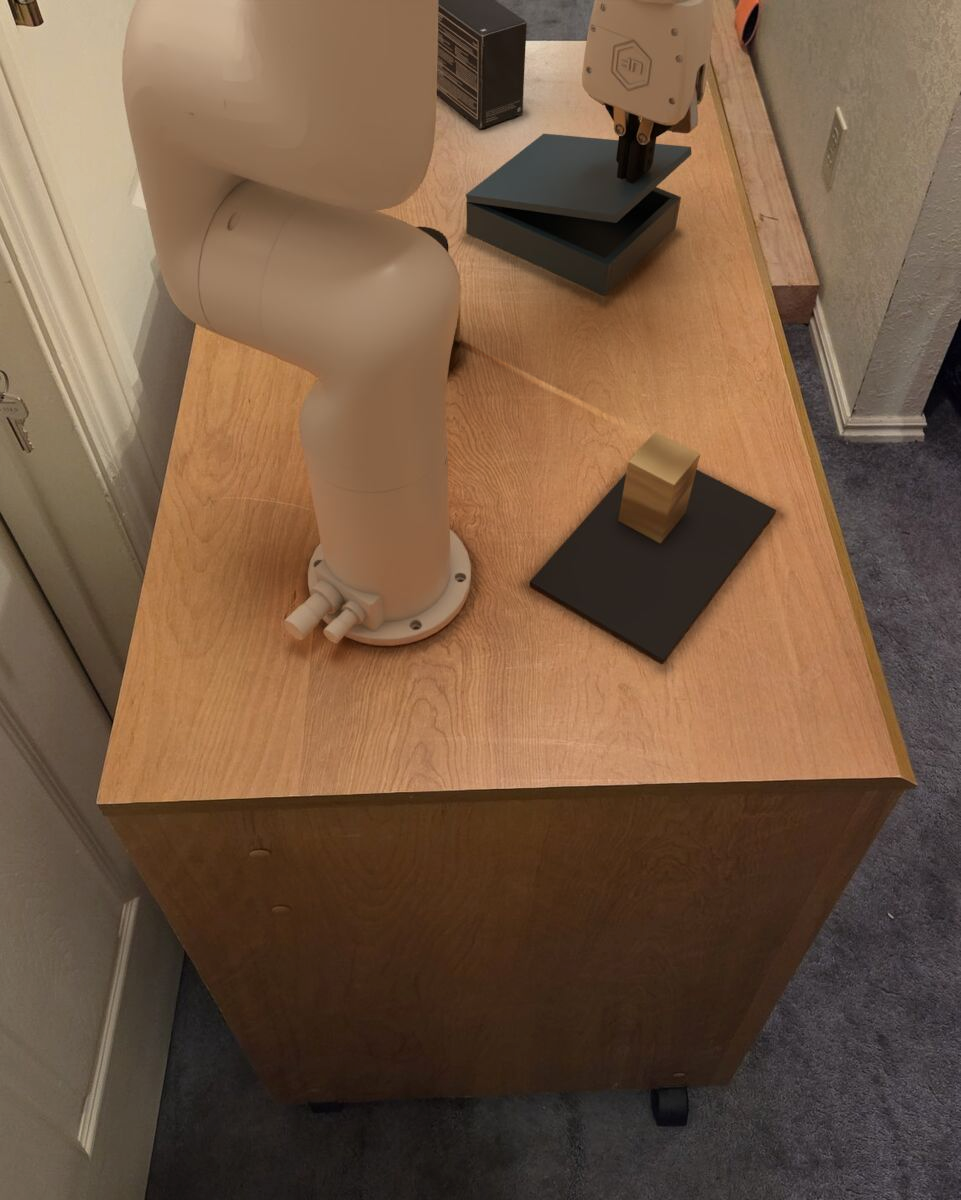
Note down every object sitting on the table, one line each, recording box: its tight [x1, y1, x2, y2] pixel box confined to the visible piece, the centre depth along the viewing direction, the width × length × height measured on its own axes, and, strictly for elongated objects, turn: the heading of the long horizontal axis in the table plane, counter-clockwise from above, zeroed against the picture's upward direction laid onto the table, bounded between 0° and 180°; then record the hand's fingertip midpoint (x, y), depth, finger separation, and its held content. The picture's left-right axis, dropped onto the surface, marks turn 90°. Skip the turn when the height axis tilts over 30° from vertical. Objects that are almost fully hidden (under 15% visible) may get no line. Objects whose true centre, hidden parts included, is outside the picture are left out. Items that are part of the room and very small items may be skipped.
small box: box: [437, 0, 528, 129], centre depth 117 cm, size 11×6×10 cm, turn 34°
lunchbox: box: [465, 186, 682, 297], centre depth 105 cm, size 17×14×4 cm
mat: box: [529, 468, 777, 664], centre depth 83 cm, size 18×12×1 cm, turn 144°
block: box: [618, 431, 701, 543], centre depth 81 cm, size 4×4×7 cm
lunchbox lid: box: [465, 133, 692, 223], centre depth 101 cm, size 17×14×1 cm
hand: (632, 173), depth 97 cm, fingers closed
